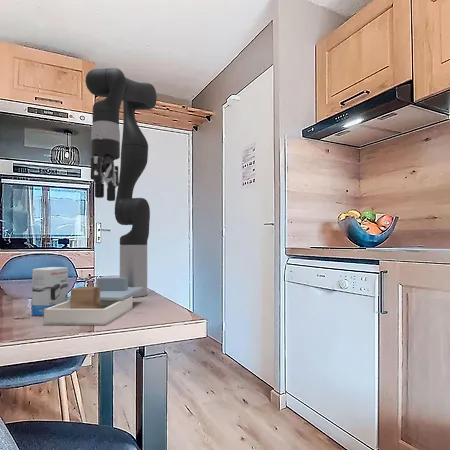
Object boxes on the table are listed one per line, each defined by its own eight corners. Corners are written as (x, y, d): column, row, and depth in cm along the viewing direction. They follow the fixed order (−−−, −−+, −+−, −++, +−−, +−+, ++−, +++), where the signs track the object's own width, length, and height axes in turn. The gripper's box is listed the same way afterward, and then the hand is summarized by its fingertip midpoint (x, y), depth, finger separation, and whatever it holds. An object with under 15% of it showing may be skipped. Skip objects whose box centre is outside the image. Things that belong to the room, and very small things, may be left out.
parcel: (80, 315, 92) (80, 286, 92) (100, 315, 91) (100, 286, 92) (70, 319, 87) (70, 289, 87) (91, 319, 86) (91, 289, 87)
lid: (98, 289, 114) (98, 275, 115) (143, 289, 114) (143, 275, 114) (67, 300, 94) (67, 283, 95) (121, 300, 94) (121, 283, 94)
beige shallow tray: (82, 308, 103) (82, 295, 104) (132, 308, 103) (132, 295, 103) (43, 324, 84) (44, 309, 84) (105, 325, 83) (105, 309, 83)
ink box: (47, 316, 93) (48, 269, 94) (30, 315, 94) (31, 268, 95) (68, 310, 101) (69, 266, 102) (52, 309, 102) (53, 266, 103)
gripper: (102, 147, 110) (102, 202, 110) (81, 133, 96) (80, 196, 95) (127, 146, 110) (127, 201, 109) (109, 133, 96) (109, 196, 95)
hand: (105, 199), depth 102 cm, fingers open, 8 cm apart
